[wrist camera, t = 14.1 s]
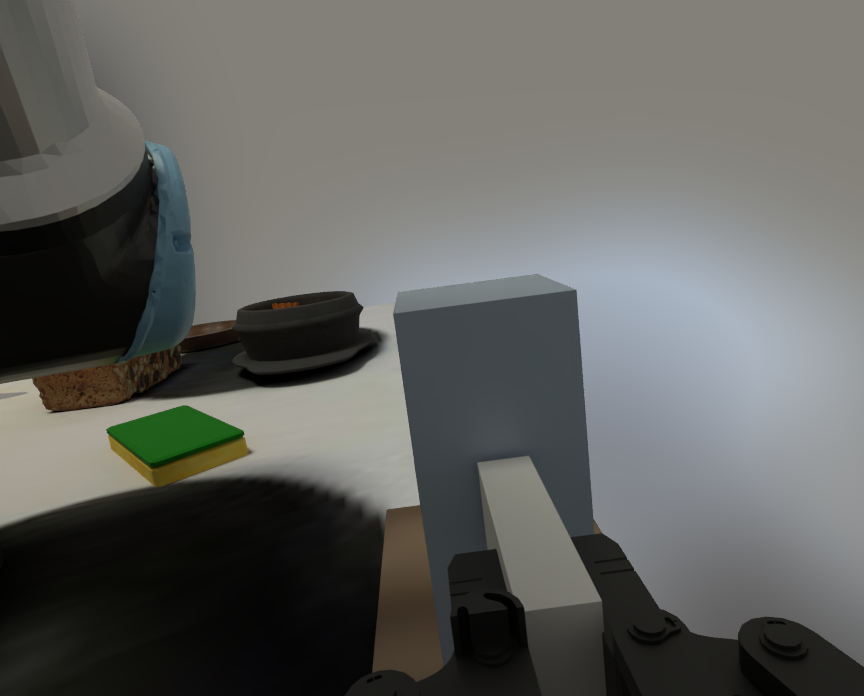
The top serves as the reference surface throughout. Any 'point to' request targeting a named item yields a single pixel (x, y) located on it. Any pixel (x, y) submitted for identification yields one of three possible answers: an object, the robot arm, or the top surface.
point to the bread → (106, 381)
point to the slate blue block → (491, 407)
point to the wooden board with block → (408, 599)
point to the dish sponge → (176, 444)
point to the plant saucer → (209, 336)
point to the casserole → (299, 332)
